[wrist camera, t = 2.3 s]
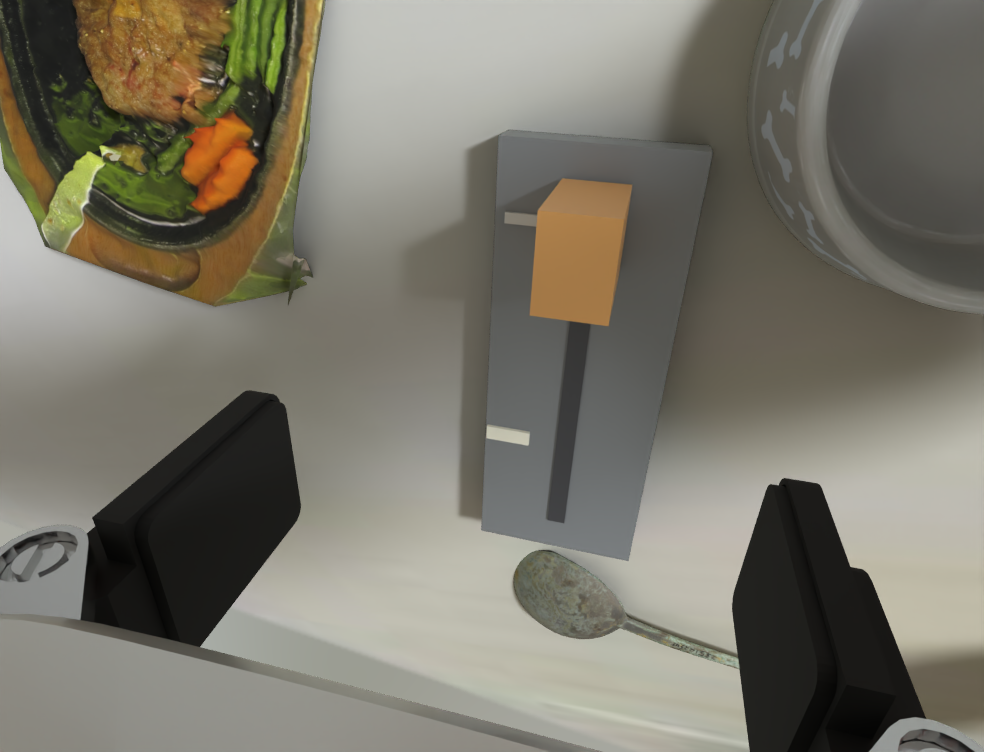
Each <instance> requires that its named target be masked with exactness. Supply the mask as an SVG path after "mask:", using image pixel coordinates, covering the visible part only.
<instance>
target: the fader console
mask: <svg viewBox="0 0 984 752" xmlns="http://www.w3.org/2000/svg"><path fill="white" fill-rule="evenodd" d="M712 155H713V151H712V149H711V147H710V145H698V144H685V143H672V142H659V141H646V140H634V139H621V138H608V137H595V136H582V135H569V134H556V133H543V132H530V131H518V130H507V131H506V132H504V133H502V134H500V135H499V138H498V161H497V184H496V206H495V229H494V252H493V275H492V298H491V321H490V344H489V366H488V389H487V412H486V435H485V458H484V481H483V504H482V526H481V530H482V531H487V532H492V533H496V534H501V535H506V536H511V537H516V538H520V539H525V540H530V541H535V542H539V543H544V544H549V545H554V546H558V547H563V548H568V549H573V550H578V551H582V552H587V553H592V554H597V555H601V556H606V557H611V558H616V559H621V560H625V561H628V560H629V555H630V550H631V546H632V541H633V536H634V531H635V526H636V522H637V517H638V512H639V507H640V502H641V497H642V493H643V488H644V483H645V478H646V473H647V468H648V464H649V459H650V454H651V449H652V444H653V440H654V435H655V430H656V425H657V420H658V415H659V411H660V406H661V401H662V396H663V391H664V386H665V382H666V377H667V372H668V367H669V362H670V358H671V353H672V348H673V343H674V338H675V333H676V329H677V324H678V319H679V314H680V309H681V304H682V300H683V295H684V290H685V285H686V280H687V276H688V271H689V266H690V261H691V256H692V251H693V247H694V242H695V237H696V232H697V227H698V222H699V218H700V213H701V208H702V203H703V198H704V194H705V189H706V184H707V179H708V174H709V169H710V165H711V160H712ZM562 178H565V179H576V180H586V181H597V182H608V183H619V184H630V185H632V191H631V198H630V204H629V211H628V218H627V224H626V231H625V238H624V245H623V251H622V258H621V265H620V271H619V277H618V282H617V287H616V292H615V297H614V302H613V307H612V311H611V316H610V321H609V326H603V325H595V324H588V323H581V322H573V321H566V320H559V319H552V318H544V317H537V316H530V304H531V291H532V278H533V265H534V252H535V239H536V226H537V213H538V209H539V208H540V207H541V206H542V204H543V203H544V202H545V200H546V199H547V198H548V196H549V195H550V194H551V193H552V191H553V190H554V189H555V187H556V186H557V185H558V183H559V182H560V181H561V180H562Z"/></svg>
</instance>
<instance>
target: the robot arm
mask: <svg viewBox="0 0 984 752" xmlns="http://www.w3.org/2000/svg"><path fill="white" fill-rule="evenodd" d="M300 508H301V503H300V496H299V490H298V483H297V477H296V470H295V464H294V457H293V451H292V445H291V438H290V432H289V425H288V419H287V412H286V408H285V406H284V404H283V403H280V402H279V399H278V398H277V396H276V395H274V394H268V393H262V392H256V391H245V392H243V393H242V394H241V395H240V396H238V397H237V398H236V399H235V400H234V401H232V402H231V403H230V404H229V405H227V406H226V407H225V408H224V409H223V410H221V411H220V412H219V413H218V414H217V415H215V416H214V417H213V418H212V419H211V420H209V421H208V422H207V423H206V424H205V425H203V426H202V427H201V428H200V429H199V430H197V431H196V432H195V433H194V434H192V435H191V436H190V437H189V438H188V439H186V440H185V441H184V442H183V443H182V444H180V445H179V446H178V447H177V448H176V449H174V450H173V451H172V452H171V453H170V454H168V455H167V456H166V457H165V458H164V459H162V460H161V461H160V462H159V463H157V464H156V465H155V466H154V467H153V468H151V469H150V470H149V471H148V472H147V473H145V474H144V475H143V476H142V477H141V478H139V479H138V480H137V481H136V482H135V483H133V484H132V485H131V486H130V487H129V488H127V489H126V490H125V491H124V492H123V493H121V494H120V495H119V496H118V497H116V498H115V499H114V500H113V501H112V502H110V503H109V504H108V505H107V506H106V507H104V508H103V509H102V510H101V511H100V512H98V513H97V514H96V515H95V516H94V517H92V519H93V521H94V524H95V527H94V528H93V529H92V530H91V531H89V532H88V533H87V534H86V533H85V532H84V531H83V530H82V529H81V528H78V527H75V526H72V525H54V526H47V527H42V528H39V529H36V530H33V531H30V532H27V533H25V534H23V535H21V536H18V537H17V538H14V539H12V540H11V541H9V542H8V543H6V544H5V545H3V546H2V547H0V752H601V751H597V750H594V749H590V748H586V747H582V746H579V745H574V744H571V743H567V742H563V741H560V740H556V739H552V738H548V737H545V736H540V735H537V734H533V733H529V732H525V731H522V730H518V729H514V728H511V727H507V726H503V725H499V724H496V723H491V722H488V721H484V720H480V719H477V718H473V717H469V716H465V715H461V714H458V713H454V712H450V711H446V710H442V709H439V708H435V707H431V706H427V705H423V704H419V703H416V702H412V701H407V700H404V699H400V698H396V697H392V696H388V695H385V694H381V693H377V692H373V691H369V690H365V689H361V688H358V687H354V686H350V685H346V684H342V683H338V682H334V681H331V680H327V679H323V678H319V677H315V676H311V675H307V674H303V673H299V672H296V671H291V670H288V669H284V668H280V667H276V666H272V665H268V664H264V663H260V662H256V661H252V660H248V659H244V658H240V657H236V656H232V655H228V654H225V653H220V652H217V651H213V650H208V649H205V648H201V647H200V646H201V645H202V643H203V642H204V641H205V639H206V638H207V637H208V636H209V634H210V633H211V632H212V631H213V629H214V628H215V627H216V625H217V624H218V623H219V621H220V620H221V619H222V617H223V616H224V615H225V614H226V612H227V611H228V610H229V608H230V607H231V606H232V604H233V603H234V602H235V601H236V599H237V598H238V597H239V595H240V594H241V593H242V591H243V590H244V589H245V588H246V586H247V585H248V584H249V582H250V581H251V580H252V578H253V577H254V576H255V575H256V573H257V572H258V571H259V569H260V568H261V567H262V565H263V564H264V563H265V561H266V560H267V559H268V558H269V556H270V555H271V554H272V552H273V551H274V550H275V548H276V547H277V546H278V545H279V543H280V542H281V541H282V539H283V538H284V537H285V535H286V534H287V533H288V532H289V530H290V529H291V528H292V526H293V525H294V524H295V522H296V521H297V519H298V517H299V514H300ZM732 612H733V621H734V629H735V637H736V645H737V653H738V661H739V669H740V676H741V684H742V692H743V700H744V708H745V716H746V724H747V732H748V740H749V748H750V752H984V748H983V747H982V746H981V745H979V744H978V743H977V742H976V741H974V740H973V739H971V738H970V737H968V736H966V735H965V734H963V733H961V732H960V731H958V730H956V729H955V728H952V727H950V726H947V725H945V724H942V723H940V722H937V721H935V720H930V719H926V717H925V715H924V712H923V710H922V707H921V705H920V702H919V700H918V697H917V695H916V692H915V689H914V687H913V684H912V682H911V679H910V677H909V674H908V672H907V669H906V667H905V664H904V661H903V659H902V656H901V654H900V651H899V649H898V646H897V644H896V641H895V639H894V636H893V633H892V631H891V628H890V626H889V623H888V621H887V618H886V616H885V613H884V611H883V608H882V606H881V603H880V600H879V598H878V595H877V593H876V590H875V588H874V585H873V583H872V580H871V579H870V577H869V575H868V573H867V572H865V571H864V570H863V569H858V568H852V567H850V565H849V562H848V559H847V557H846V554H845V551H844V548H843V545H842V543H841V540H840V537H839V534H838V532H837V529H836V526H835V523H834V521H833V518H832V515H831V512H830V510H829V507H828V504H827V501H826V499H825V496H824V493H823V490H822V488H821V486H820V485H819V484H817V483H811V482H805V481H799V480H793V479H787V478H784V479H782V480H781V482H780V483H779V486H778V485H772V484H770V485H769V486H768V487H767V490H766V493H765V496H764V499H763V502H762V505H761V508H760V512H759V515H758V518H757V521H756V524H755V527H754V530H753V534H752V537H751V540H750V543H749V546H748V549H747V553H746V556H745V559H744V562H743V565H742V568H741V571H740V575H739V578H738V581H737V584H736V587H735V590H734V595H733V603H732Z"/></svg>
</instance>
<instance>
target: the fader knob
mask: <svg viewBox="0 0 984 752" xmlns="http://www.w3.org/2000/svg"><path fill="white" fill-rule="evenodd" d="M631 191H632V185H630V184H619V183H608V182H597V181H586V180H576V179H565V178H562V180H561V181H560V182H559V183H558V185H557V186H556V187H555V189H554V190H553V191H552V193H551V194H550V195H549V196H548V198H547V199H546V200H545V202H544V203H543V204H542V206H541V207H540V208H539V209H538V213H537V226H536V239H535V252H534V265H533V278H532V291H531V304H530V316H537V317H544V318H552V319H559V320H566V321H573V322H581V323H588V324H595V325H603V326H609V321H610V316H611V311H612V307H613V302H614V297H615V292H616V287H617V282H618V277H619V271H620V265H621V258H622V251H623V245H624V238H625V231H626V224H627V218H628V211H629V204H630V198H631Z"/></svg>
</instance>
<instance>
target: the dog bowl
mask: <svg viewBox="0 0 984 752" xmlns="http://www.w3.org/2000/svg"><path fill="white" fill-rule="evenodd" d="M747 128H748V138H749V145H750V152H751V156H752V161H753V164H754V168H755V171H756V174H757V177H758V180H759V183H760V185H761V188H762V190H763V192H764V194H765V196H766V198H767V200H768V202H769V204H770V205H771V207H772V209H773V210H774V212H775V213H776V215H777V216H778V218H779V219H780V220H781V221H782V223H783V224H784V225H785V226H786V228H787V229H788V230H789V231H790V232H791V233H792V234H793V235H794V237H795V238H796V239H797V240H798V241H800V242H801V243H802V244H803V245H804V246H805V247H806V248H807V249H808V250H810V251H811V252H812V253H813V254H815V255H816V256H817V257H819V258H820V259H822V260H823V261H825V262H826V263H828V264H829V265H831V266H833V267H835V268H836V269H838V270H840V271H842V272H844V273H846V274H848V275H850V276H852V277H854V278H857V279H859V280H862V281H864V282H867V283H870V284H872V285H875V286H878V287H882V288H885V289H888V290H890V291H892V292H895V293H897V294H899V295H902V296H904V297H907V298H910V299H912V300H915V301H918V302H921V303H923V304H927V305H931V306H934V307H938V308H942V309H946V310H952V311H957V312H964V313H972V314H983V315H984V0H774V1H773V3H772V6H771V8H770V10H769V12H768V15H767V18H766V20H765V23H764V25H763V28H762V31H761V34H760V37H759V41H758V44H757V48H756V51H755V55H754V59H753V64H752V69H751V75H750V81H749V90H748V100H747Z"/></svg>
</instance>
